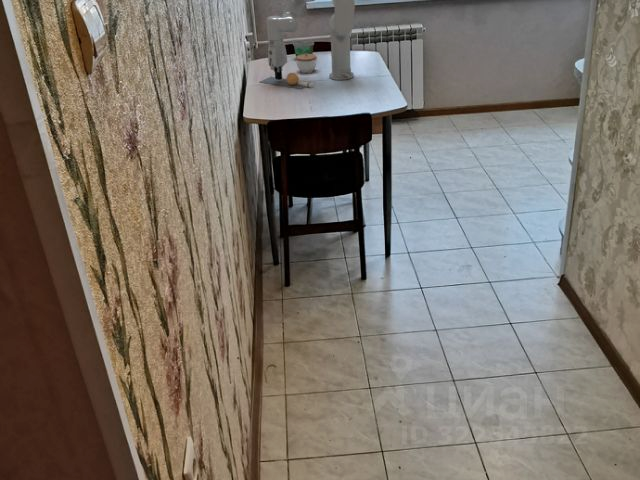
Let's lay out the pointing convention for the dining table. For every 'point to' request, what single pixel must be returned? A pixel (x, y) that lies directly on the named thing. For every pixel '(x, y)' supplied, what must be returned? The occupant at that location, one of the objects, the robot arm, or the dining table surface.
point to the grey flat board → (280, 83)
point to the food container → (303, 47)
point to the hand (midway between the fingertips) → (278, 78)
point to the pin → (305, 84)
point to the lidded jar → (306, 62)
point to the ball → (292, 79)
